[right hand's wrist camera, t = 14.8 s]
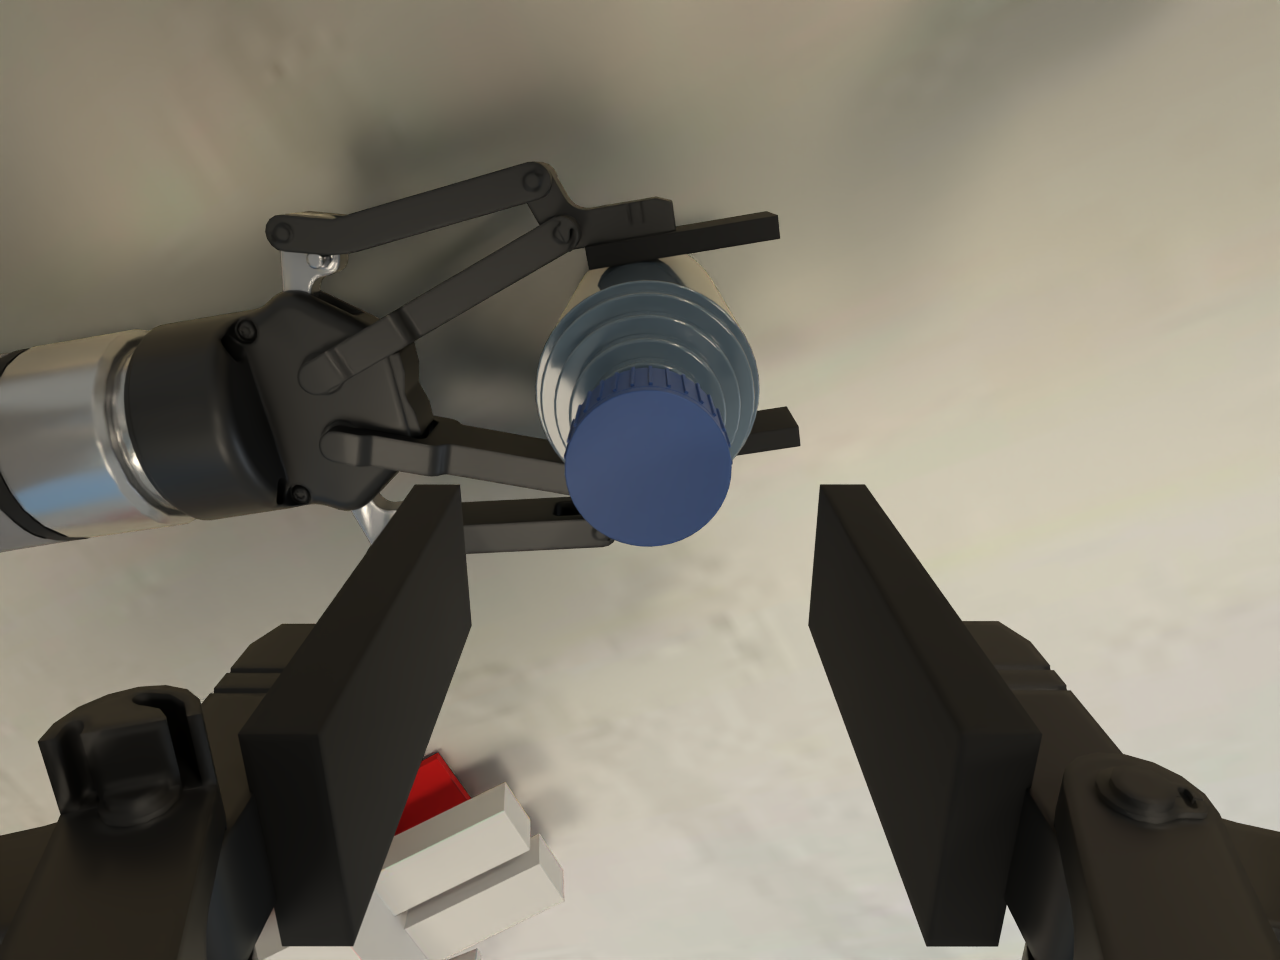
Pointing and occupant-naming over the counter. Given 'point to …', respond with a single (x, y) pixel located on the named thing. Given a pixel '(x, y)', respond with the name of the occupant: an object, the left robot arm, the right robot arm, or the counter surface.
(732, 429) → the bottle
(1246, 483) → the counter surface
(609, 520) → the cap
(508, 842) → the toy
